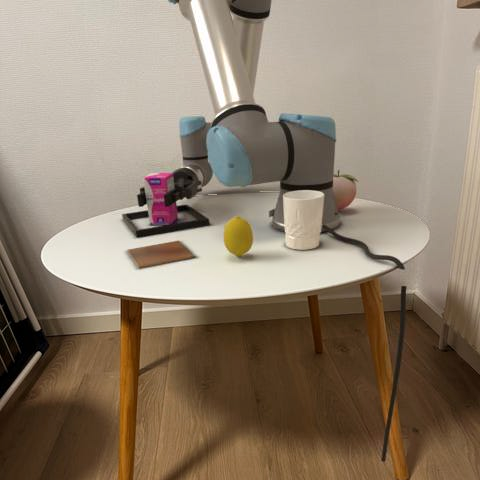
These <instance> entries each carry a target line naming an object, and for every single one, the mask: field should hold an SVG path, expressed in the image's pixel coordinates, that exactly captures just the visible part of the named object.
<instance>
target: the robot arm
mask: <svg viewBox="0 0 480 480" xmlns="http://www.w3.org/2000/svg"><path fill="white" fill-rule="evenodd" d="M167 2H169V3H171V4H174V5H176V4H178V8H179V11H180V13H181V15H182V17H183V18H184V19H185V20H187V21H188V22H190V24H191V29H192V32H193V36H194V40H195V44H196V48H197V51H198V55H199V58H200V63H201V68H202V70H203V75H204V78H205V82H206V86H207V90H208V93H209V98H210V102H211V105H212V108H213V109H212V110H213V113H214V117H213V119H212V120H211V122H207V121H206V118H205V116H203V115H194V116H193V115H192V116H184V117H180V119H179V121H178V125H179V126H178V127H179V128H178V129H179V139H180V148H181V155H182V166H181V167H179V168H177V169H175V170H174V171H172V172H171V173H173V178H174V187H175V189H173V190H171V191H170V192H168V193H166V194H165V195H164V202H165V207H169V206H170V205H172V204H173V203H175V202H176V203H177V201H182V200H184V198H186V200H191V199H192V198H194V197H195V196H196V195H197V194H198V193H200V192H203V187H205V186H207V185H208V184H209V183H210V182H211V180H212V178H213V176H215V178H216V179H217V180H218V182H219V183H220V184H222V185H223V186H225V187H228V188H233V187H241V188H246V187H248V186H253V185H261V184H262V185H263V184H267V183H277V182H279V194H278V197H277V200H276V202H275V206H274V208H272V209H270V210H269V211H268V218H272V219H271V220H272V227H273V228H274V229H276V230H278V231H281V232H285V227H284V210H283V194H285V193H287V192H291V191H299V190H312V191H319V192H322V193H324V204H323V217H322V226H321V232H320V233H324V232H328V233H329V234H331V236H332V237H334V238H336V239H338V240H340V241H343V242H347V243H351V244H355V245H357V246H360V247H361V248H363V250H364V253H365V255H366V256H367V257H369V258H370V259H373V260H378V261H390V262H392V263H394V264H395V265H396V266H397V267H398V269H399V270H406V267H405V266H404V264H403V263H402V262H401V260H400V259H399V258H397V257H395V256H394V255H388V254H387V255H386V254H375V253H373V252H371V250H370V249H369V246H368V245H367V244H366V243H365V242H364V241H362V240H359V239H355V238H351V237H347V236H345V235H344V236H343V235H341V234H339V233H337V232H336V231H334V230H335V229H337V228H338V227H339V225H340V219H341V217H340V212H339V211H338V208H337V204H336V200H335V197H334V193H333V175H334V174H335V158H336V157H335V154H336V143H337V133H336V131H337V130H336V122H335V120H334V118H332V117H330V116H324V115H323V116H322V115H311V114H297V113H285V112H284V113H283V112H282V113H280V114H279V118H278V121H269V120H268V117H267V113H266V110H265V107H263V106H262V105H260V104H258V103H256V102H255V98H254V93H255V85H256V78H257V72H258V66H259V58H260V53H261V52H260V51H261V46H262V39H263V32H264V25H265V21H266V20H267V19H269V18H270V14H271V8H272V7H271V6H272V0H167ZM136 198H137V205H138V208H142V207H144V206H147V201H146V194H145V187H144V186H142V187H140V188H139V193H138V194H136ZM406 306H407V286H406V285H401V288H400V313H399V314H400V317H399V332H398V344H397V351H396V352H397V353H396V360H395V367H394V375H393V382H392V387H391V394H390V400H389V406H388V412H387V419H386V423H385V431H384V437H383V444H382V451H381V462H382V463H385V462H386V460H387V459H386V458H387V452H388V444H389V437H390V432H391V427H392V421H393V414H394V409H395V408H394V407H395V402H396V397H397V396H396V395H397V390H398V384H399V379H400V371H401V365H402V358H403V350H404V342H405V331H406V330H405V329H406V312H407V307H406Z"/></svg>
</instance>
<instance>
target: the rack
mask: <svg viewBox="0 0 480 480" xmlns="http://www.w3.org/2000/svg"><path fill="white" fill-rule="evenodd" d="M177 212H178V213H180V212H186V213H188V214H189V215H191V216H192V217H193V218H195V219H196V220H194V219H193V220H189V221H184V222H177V223H176V222H175V223H173V224H170V225H157V226H153V227H146V228H140V229H138V227H137V226H136V225H135V224H134V222H133V221H132V220H135V219H136V220H137V219H141V218H149V214H148V209H146V210H140V211H134V212H126V213H122V214H121V218H122V220H123V222H124V223H125V224H126V226H127V227H128V229H130V231H131V232H132V233H133V235H134V236H135V237H136V238H142V237H148V236H153V235H154V236H155V235H160V234H165V233H171V232H177V231H183V230H189V229H194V228H200V227H207V226H210V218H209V217H207V216H205V215H204V214H202V213H201V212H199V211H197V210H196V209H195V208H193V207H192V206H190V205H188V204H180V205H177Z"/></svg>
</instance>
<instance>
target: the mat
mask: <svg viewBox="0 0 480 480" xmlns="http://www.w3.org/2000/svg"><path fill="white" fill-rule="evenodd" d="M127 253H128V254H129V255H130V257H131V259H132V260H133V261H134V263H135V264H136V267H137V268H138V269H143V268H149V267H153V266H154V267H155V266H158V265H164V264H168V263H174V262H180V261H184V260H189V259H195V258H196V255H195V254H193V253H192V252H191V250H189V249H188V248H187V247H186V246H185V245H184V244H182V242H181V241H180V240H175V241H168V242H162V243H157V244H150V245H146V246H140V247H136V248H130V249H127Z"/></svg>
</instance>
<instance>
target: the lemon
mask: <svg viewBox="0 0 480 480" xmlns="http://www.w3.org/2000/svg"><path fill="white" fill-rule="evenodd" d="M253 243H254V233H253V229H252V226H251V224H250V223H249V221H248V220H246V219H245V218H242V217H240V216H239V215H236V216H234V217H233V218H231V219H229V220H228V221H227V223H226V224H225V226H224V230H223V244H224V247H225V248H226V250H227V251H228V252H229V253H230V254H232V255H234V256H236V257H237V258H238V259H239V258H242V257H243V256H244V255H246V254H248V252H250V250H251V248H252V246H253Z"/></svg>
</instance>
